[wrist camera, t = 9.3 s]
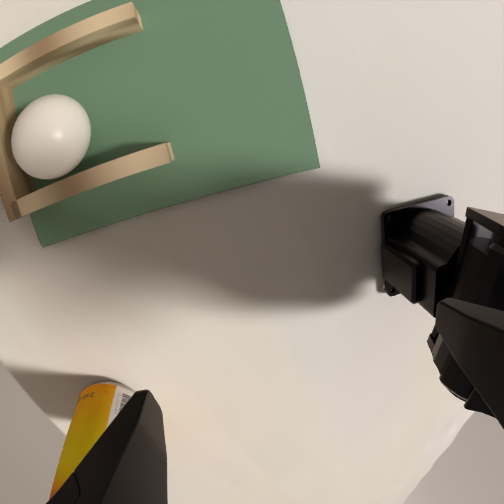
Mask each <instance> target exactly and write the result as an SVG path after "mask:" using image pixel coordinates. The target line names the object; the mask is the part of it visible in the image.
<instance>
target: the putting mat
mask: <svg viewBox="0 0 504 504" xmlns="http://www.w3.org/2000/svg"><path fill="white" fill-rule="evenodd" d="M129 2H133V4H134V6H135V8H136V10H137V12H138V13H139V15H140V17H141V22H142V27H143V31H141V32H138V33H135V34H132V35H129V36H126V37H123V38H120V39H117V40H115V41H112V42H109V43H107V44H104V45H101V46H99V47H96V48H94V49H92V50H89V51H87V52H84V53H82V54H80V55H77V56H75V57H73V58H71V59H69V60H66V61H64V62H62V63H60V64H58V65H56V66H54V67H52V68H50V69H48V70H46V71H44V72H42V73H40V74H38V75H36V76H35V77H33V78H31V79H29V80H27V81H25V82H24V83H22V84H20V85H18V86H17V87H15V88H13V89H12V92H13V98H14V104H15V109H16V115H17V118H18V116H19V115H20V113H21V112H22V111H23V110H24V109H25V107H26V106H27V105H29V104H30V103H31V102H33V101H34V100H36V99H38V98H40V97H42V96H45V95H51V94H61V95H66V96H68V97H71V98H73V99H74V100H76V101H77V102H78V103H80V104H81V106H82V107H83V108H84V109H85V111H86V113H87V115H88V117H89V121H90V125H91V138H90V143H89V147H88V149H87V152H86V154H85V156H84V157H83V159H82V160H81V161H80V163H79V164H78V165H77V166H76V167H75V168H74V169H73V170H72V171H70V172H69V173H67V174H65V175H63V176H61V177H58V178H54V179H39V178H35V177H33V176H31V177H32V180H33V184H34V187H35V190H36V191H37V190H39V189H42V188H44V187H46V186H48V185H51V184H53V183H55V182H58V181H60V180H63V179H65V178H67V177H70V176H72V175H75V174H77V173H80V172H82V171H85V170H88V169H90V168H93V167H95V166H98V165H101V164H103V163H106V162H109V161H112V160H115V159H117V158H120V157H123V156H126V155H129V154H132V153H135V152H138V151H141V150H144V149H147V148H150V147H154V146H157V145H160V144H163V143H167V142H170V144H171V148H172V152H173V155H174V160H173V161H171V162H170V163H167V164H164V165H161V166H157V167H154V168H151V169H148V170H145V171H142V172H138V173H135V174H132V175H129V176H126V177H123V178H120V179H117V180H115V181H112V182H109V183H106V184H103V185H100V186H98V187H95V188H92V189H89V190H87V191H84V192H81V193H79V194H76V195H74V196H71V197H68V198H66V199H63V200H61V201H58V202H56V203H53V204H51V205H48V206H46V207H44V208H41V209H39V210H37V211H34V212H32V213H30V215H31V218H32V221H33V224H34V227H35V230H36V232H37V235H38V238H39V240H40V243H41V245H42V248H43V247H45V246H48V245H51V244H54V243H57V242H59V241H62V240H65V239H68V238H71V237H74V236H76V235H79V234H82V233H85V232H88V231H91V230H94V229H97V228H100V227H103V226H106V225H109V224H112V223H115V222H119V221H122V220H125V219H128V218H131V217H134V216H138V215H141V214H144V213H147V212H151V211H154V210H157V209H161V208H164V207H167V206H171V205H174V204H178V203H181V202H185V201H188V200H192V199H195V198H199V197H203V196H206V195H210V194H214V193H217V192H221V191H225V190H229V189H233V188H237V187H240V186H244V185H248V184H252V183H256V182H260V181H264V180H269V179H273V178H277V177H281V176H285V175H290V174H294V173H298V172H303V171H307V170H312V169H316V168H320V165H319V159H318V154H317V149H316V144H315V139H314V134H313V129H312V124H311V120H310V115H309V111H308V106H307V102H306V97H305V93H304V89H303V84H302V80H301V76H300V72H299V68H298V64H297V60H296V56H295V52H294V49H293V45H292V41H291V37H290V34H289V30H288V27H287V23H286V20H285V16H284V13H283V9H282V6H281V3H280V0H92V1H89V2H87V3H84V4H82V5H80V6H77V7H75V8H73V9H71V10H69V11H66V12H64V13H62V14H60V15H58V16H56V17H54V18H52V19H50V20H48V21H46V22H44V23H42V24H41V25H39V26H37V27H35V28H33V29H31V30H30V31H28V32H26V33H24V34H23V35H21V36H19V37H18V38H16V39H14V40H13V41H11V42H9V43H8V44H6V45H5V46H3V47H1V48H0V64H1V63H3V62H4V61H6V60H7V59H9V58H11V57H12V56H14V55H16V54H17V53H19V52H21V51H22V50H24V49H26V48H28V47H29V46H31V45H33V44H35V43H37V42H39V41H40V40H42V39H44V38H46V37H48V36H50V35H52V34H54V33H56V32H58V31H60V30H62V29H64V28H66V27H69V26H71V25H73V24H75V23H77V22H80V21H82V20H84V19H87V18H89V17H91V16H94V15H96V14H99V13H101V12H104V11H107V10H109V9H112V8H115V7H117V6H120V5H123V4H126V3H129Z"/></svg>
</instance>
